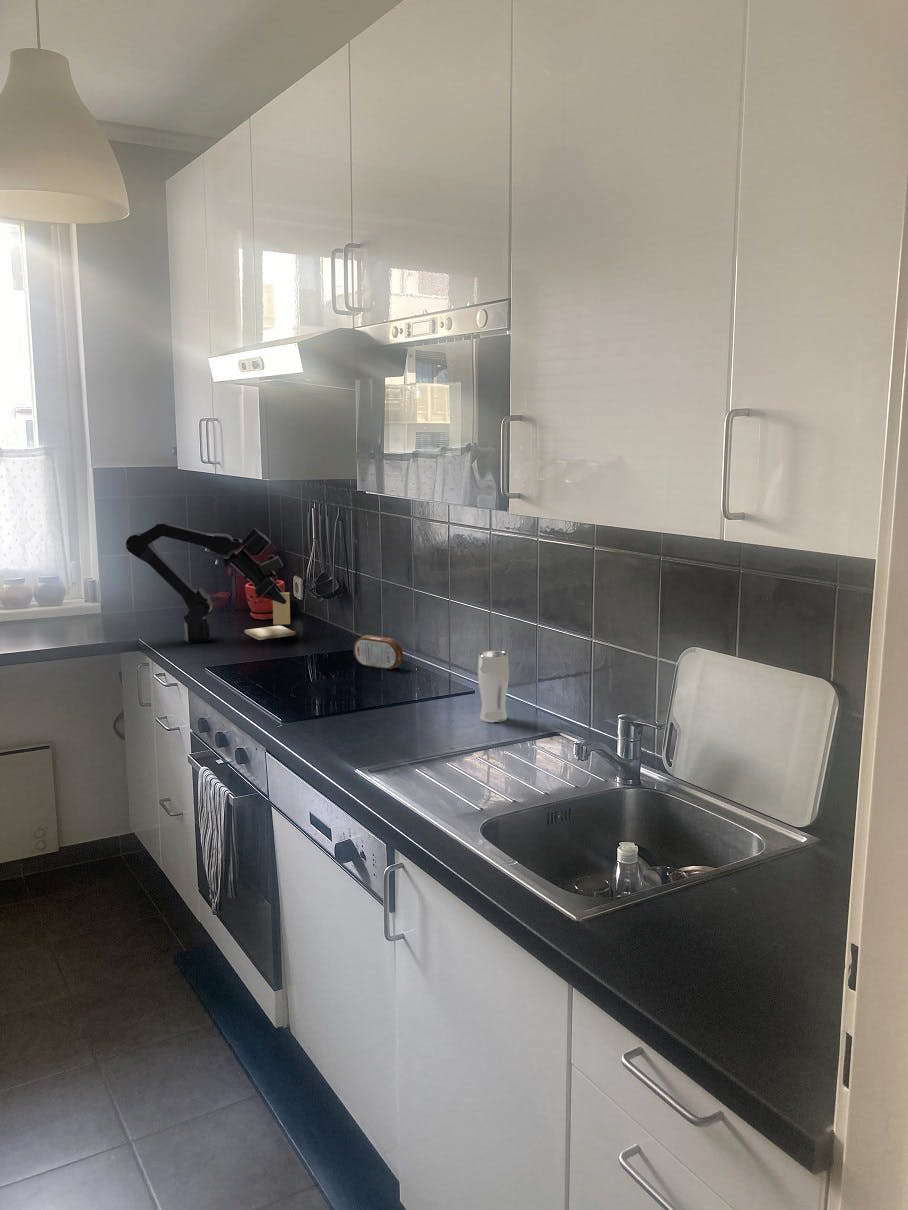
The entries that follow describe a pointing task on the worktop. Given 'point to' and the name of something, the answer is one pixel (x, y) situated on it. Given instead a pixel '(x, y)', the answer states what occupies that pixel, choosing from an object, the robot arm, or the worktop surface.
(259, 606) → the plant pot
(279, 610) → the ochre block
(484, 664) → the beer glass
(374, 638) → the tin
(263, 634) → the birch board
